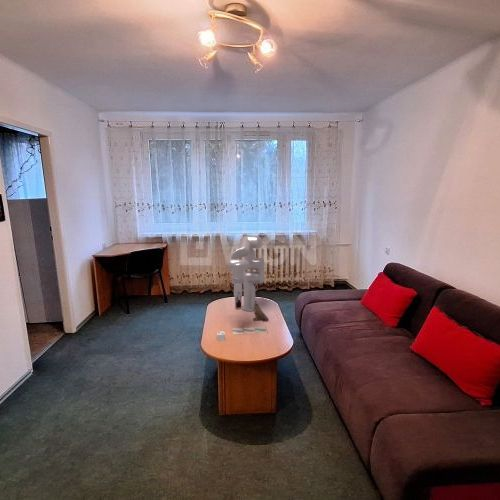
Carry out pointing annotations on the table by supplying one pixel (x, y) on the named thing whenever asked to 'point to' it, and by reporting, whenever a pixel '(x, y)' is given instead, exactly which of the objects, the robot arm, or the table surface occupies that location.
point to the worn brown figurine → (259, 314)
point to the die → (221, 336)
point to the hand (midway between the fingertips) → (238, 305)
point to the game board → (249, 330)
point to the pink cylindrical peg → (235, 304)
